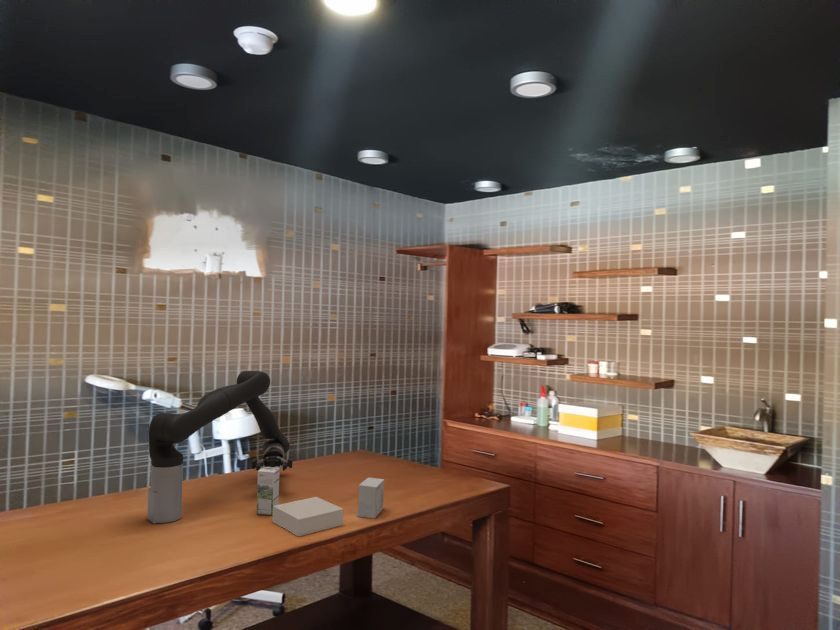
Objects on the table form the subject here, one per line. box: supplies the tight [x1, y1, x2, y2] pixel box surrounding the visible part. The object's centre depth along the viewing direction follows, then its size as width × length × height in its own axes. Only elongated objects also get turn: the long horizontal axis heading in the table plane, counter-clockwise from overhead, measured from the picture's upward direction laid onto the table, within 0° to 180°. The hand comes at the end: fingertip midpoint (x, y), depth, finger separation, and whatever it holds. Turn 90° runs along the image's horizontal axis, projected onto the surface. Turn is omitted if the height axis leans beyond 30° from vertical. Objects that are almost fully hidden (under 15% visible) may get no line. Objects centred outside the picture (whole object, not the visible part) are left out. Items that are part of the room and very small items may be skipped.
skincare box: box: [356, 477, 385, 519], centre depth 192 cm, size 10×6×10 cm, turn 168°
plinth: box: [271, 496, 344, 537], centre depth 180 cm, size 16×16×5 cm
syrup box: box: [256, 467, 281, 516], centre depth 189 cm, size 6×6×14 cm
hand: (271, 468), depth 201 cm, fingers open, 8 cm apart
